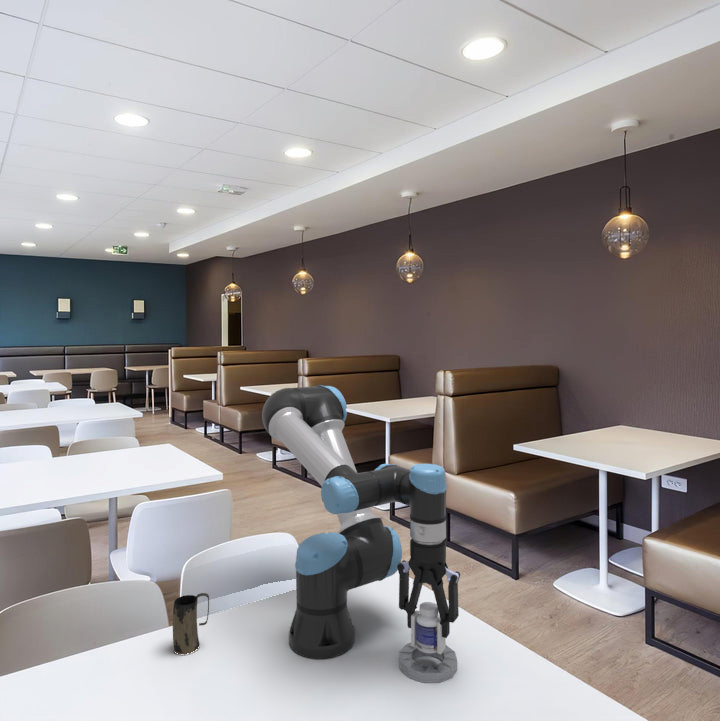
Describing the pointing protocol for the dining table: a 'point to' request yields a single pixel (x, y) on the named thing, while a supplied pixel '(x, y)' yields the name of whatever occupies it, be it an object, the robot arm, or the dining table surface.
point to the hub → (427, 672)
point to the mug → (186, 623)
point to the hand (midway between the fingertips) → (428, 646)
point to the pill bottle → (427, 627)
